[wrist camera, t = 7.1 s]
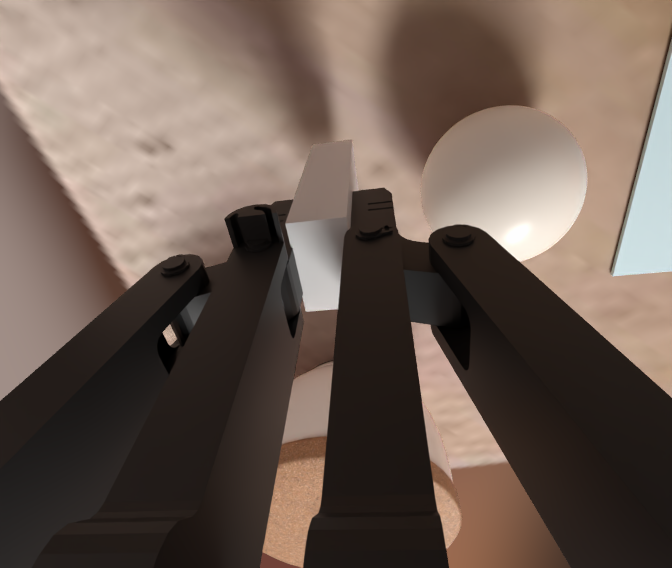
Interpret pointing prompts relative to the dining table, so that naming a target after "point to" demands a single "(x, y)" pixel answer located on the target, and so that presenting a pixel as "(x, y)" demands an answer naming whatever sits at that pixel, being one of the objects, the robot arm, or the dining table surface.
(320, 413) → the lidded jar
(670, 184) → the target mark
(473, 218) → the cue ball
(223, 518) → the robot arm
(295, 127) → the dining table surface
